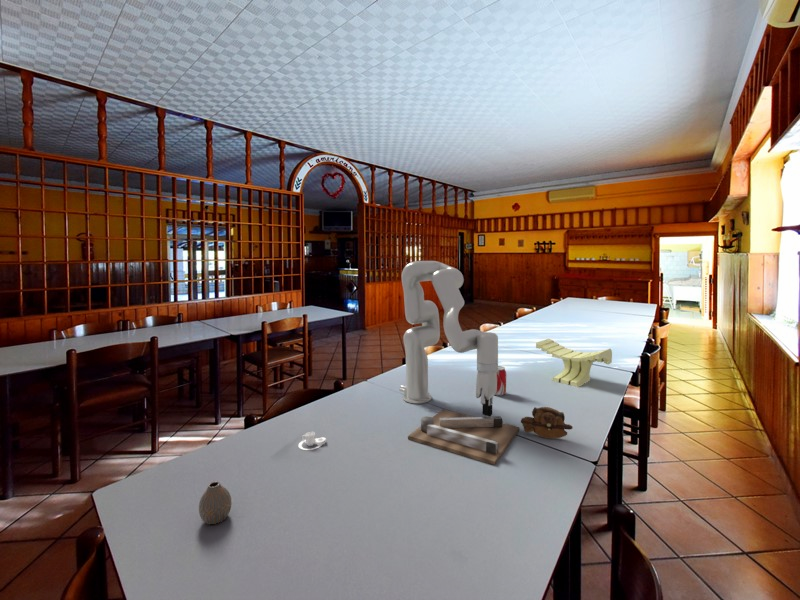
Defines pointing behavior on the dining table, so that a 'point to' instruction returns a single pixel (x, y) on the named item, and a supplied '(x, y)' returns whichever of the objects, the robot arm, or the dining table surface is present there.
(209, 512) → the vase
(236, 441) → the dining table surface
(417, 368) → the robot arm
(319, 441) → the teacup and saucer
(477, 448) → the tong board
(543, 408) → the wooden carving
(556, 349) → the slatted curved stool
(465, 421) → the bar
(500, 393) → the soda can
